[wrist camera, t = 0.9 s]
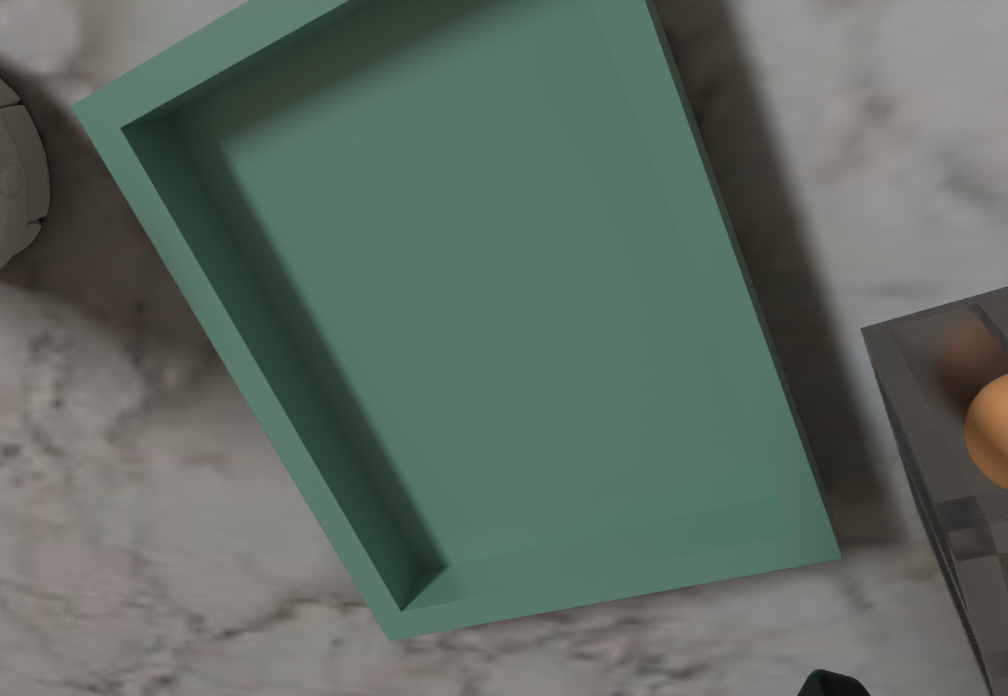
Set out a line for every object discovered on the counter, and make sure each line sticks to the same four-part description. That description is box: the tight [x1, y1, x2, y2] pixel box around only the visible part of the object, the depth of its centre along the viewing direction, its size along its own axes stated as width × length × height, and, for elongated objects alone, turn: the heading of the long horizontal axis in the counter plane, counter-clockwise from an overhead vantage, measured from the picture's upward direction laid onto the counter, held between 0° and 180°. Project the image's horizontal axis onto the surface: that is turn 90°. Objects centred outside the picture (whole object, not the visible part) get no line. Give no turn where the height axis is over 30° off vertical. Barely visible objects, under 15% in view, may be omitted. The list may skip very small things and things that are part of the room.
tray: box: [71, 0, 843, 641], centre depth 21 cm, size 18×14×2 cm
